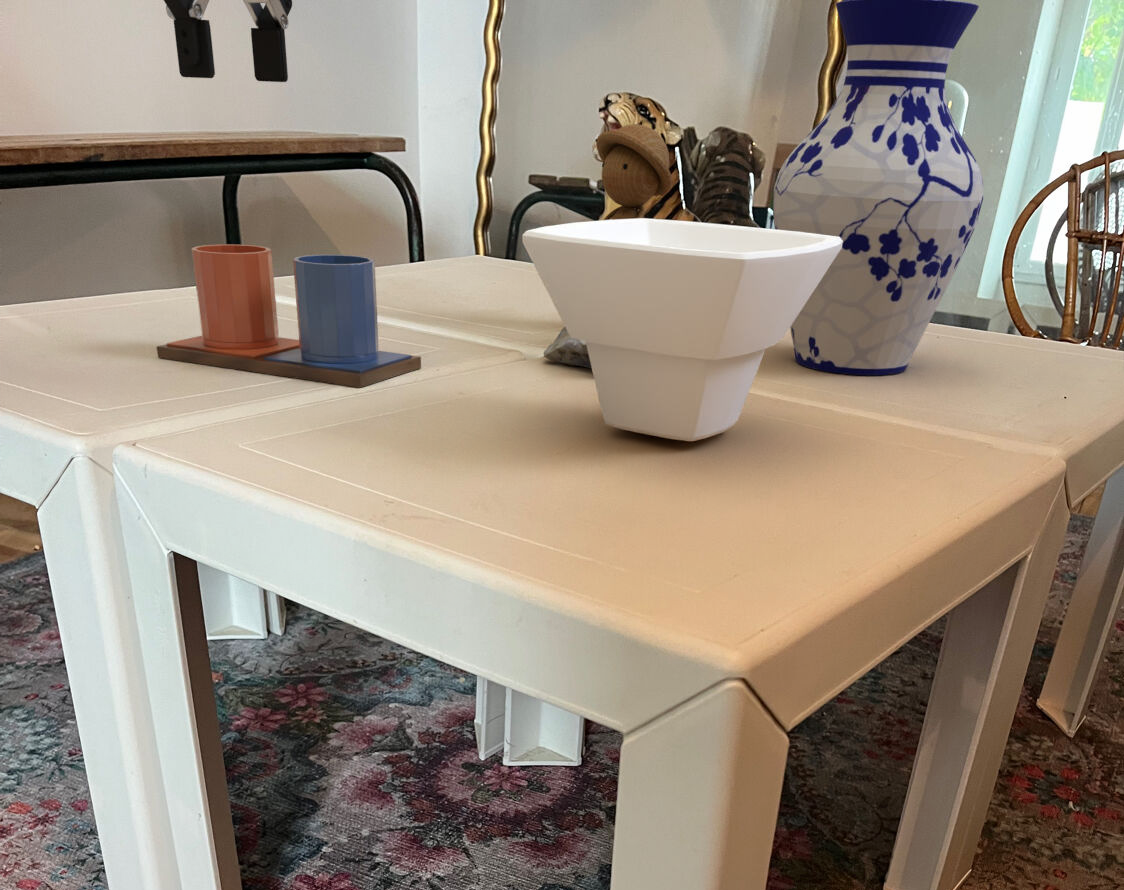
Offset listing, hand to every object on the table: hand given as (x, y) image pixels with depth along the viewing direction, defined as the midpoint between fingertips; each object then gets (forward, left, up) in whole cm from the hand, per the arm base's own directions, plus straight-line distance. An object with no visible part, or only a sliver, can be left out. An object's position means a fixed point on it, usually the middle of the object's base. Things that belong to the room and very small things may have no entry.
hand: (236, 79), depth 96 cm
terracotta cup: (0, -3, -21) cm, 21 cm away
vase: (+50, +28, -22) cm, 62 cm away
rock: (+30, +11, -22) cm, 39 cm away
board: (+5, -3, -22) cm, 23 cm away
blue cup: (+11, -3, -21) cm, 24 cm away
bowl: (+44, -8, -22) cm, 51 cm away
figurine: (+24, +32, -22) cm, 46 cm away
